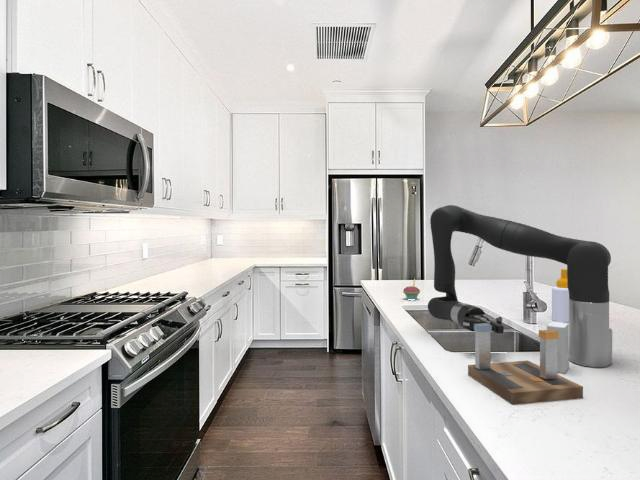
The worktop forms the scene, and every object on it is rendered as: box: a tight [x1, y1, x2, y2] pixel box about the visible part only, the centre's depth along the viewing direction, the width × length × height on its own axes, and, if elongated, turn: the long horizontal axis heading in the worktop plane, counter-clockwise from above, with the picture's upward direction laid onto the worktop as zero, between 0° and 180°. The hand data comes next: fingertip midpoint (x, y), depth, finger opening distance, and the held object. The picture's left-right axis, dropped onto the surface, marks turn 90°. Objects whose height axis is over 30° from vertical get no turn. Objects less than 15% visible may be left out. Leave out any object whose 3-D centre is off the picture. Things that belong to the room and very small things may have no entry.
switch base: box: [467, 360, 584, 405], centre depth 96 cm, size 17×18×3 cm
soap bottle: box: [551, 268, 569, 324], centre depth 162 cm, size 13×8×20 cm, turn 129°
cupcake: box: [402, 278, 421, 300], centre depth 213 cm, size 9×8×12 cm
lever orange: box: [538, 329, 559, 379], centre depth 93 cm, size 3×2×11 cm, turn 99°
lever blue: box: [473, 323, 493, 370], centre depth 101 cm, size 3×2×11 cm, turn 99°
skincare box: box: [546, 320, 570, 374], centre depth 107 cm, size 6×4×12 cm
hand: (501, 329), depth 111 cm, fingers closed
